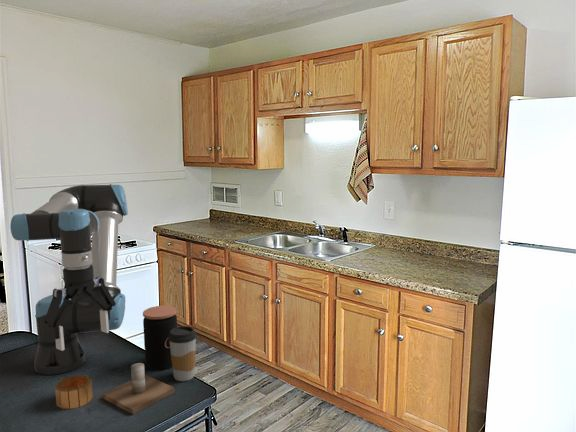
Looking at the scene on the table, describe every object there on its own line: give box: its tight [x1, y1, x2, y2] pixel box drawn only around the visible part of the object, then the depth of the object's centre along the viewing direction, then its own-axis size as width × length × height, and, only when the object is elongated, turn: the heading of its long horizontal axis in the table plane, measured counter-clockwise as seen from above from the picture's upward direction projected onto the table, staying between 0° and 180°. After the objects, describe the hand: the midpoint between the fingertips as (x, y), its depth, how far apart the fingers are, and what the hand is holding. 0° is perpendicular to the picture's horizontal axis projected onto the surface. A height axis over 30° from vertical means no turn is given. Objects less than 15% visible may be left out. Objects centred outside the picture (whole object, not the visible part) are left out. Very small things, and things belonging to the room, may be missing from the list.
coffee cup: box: [169, 325, 197, 382], centre depth 142 cm, size 8×8×15 cm
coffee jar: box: [142, 305, 178, 371], centre depth 151 cm, size 11×11×18 cm
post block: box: [102, 362, 176, 416], centre depth 131 cm, size 14×14×9 cm
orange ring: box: [54, 374, 93, 410], centre depth 130 cm, size 9×9×5 cm
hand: (83, 340), depth 128 cm, fingers open, 13 cm apart
